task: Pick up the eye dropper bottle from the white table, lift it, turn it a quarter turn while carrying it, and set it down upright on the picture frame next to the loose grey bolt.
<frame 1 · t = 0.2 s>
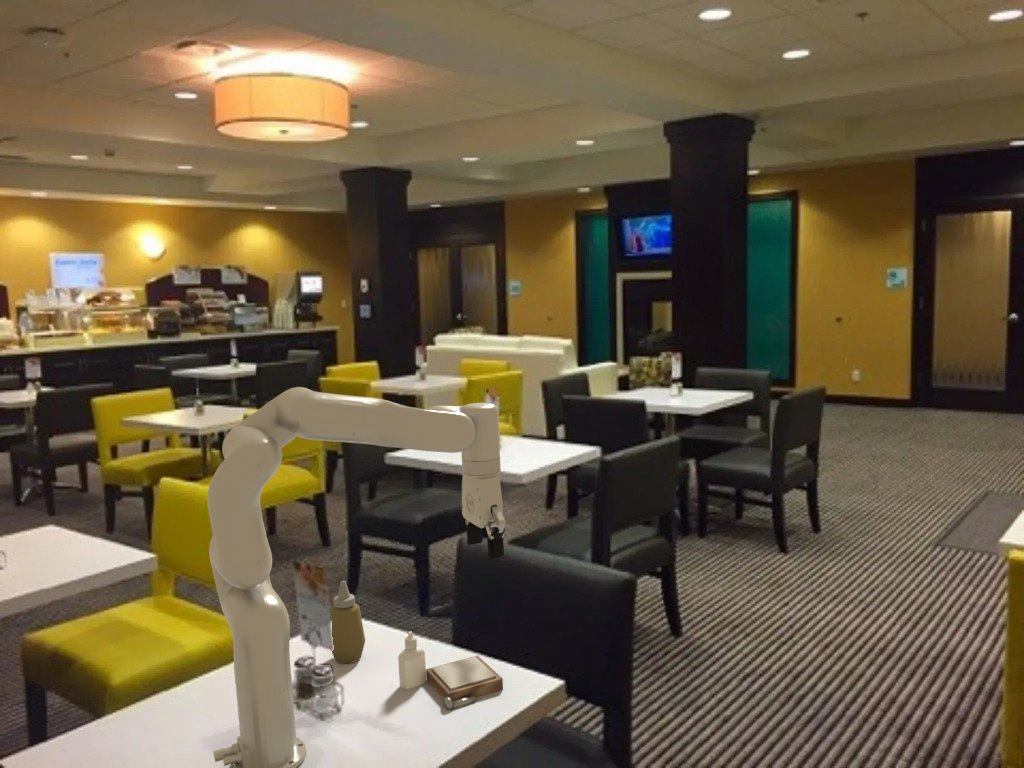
hand: (485, 550, 171), 31 cm above the table, tool pointing down, fingers open, 9 cm apart
eye dropper bottle: (413, 687, 180), on the table
squeeze bottle: (348, 658, 194), on the table
picture frame: (464, 687, 179), on the table
loose bolt: (464, 706, 170), point 1 cm above the table, tilted 60°, touching picture frame
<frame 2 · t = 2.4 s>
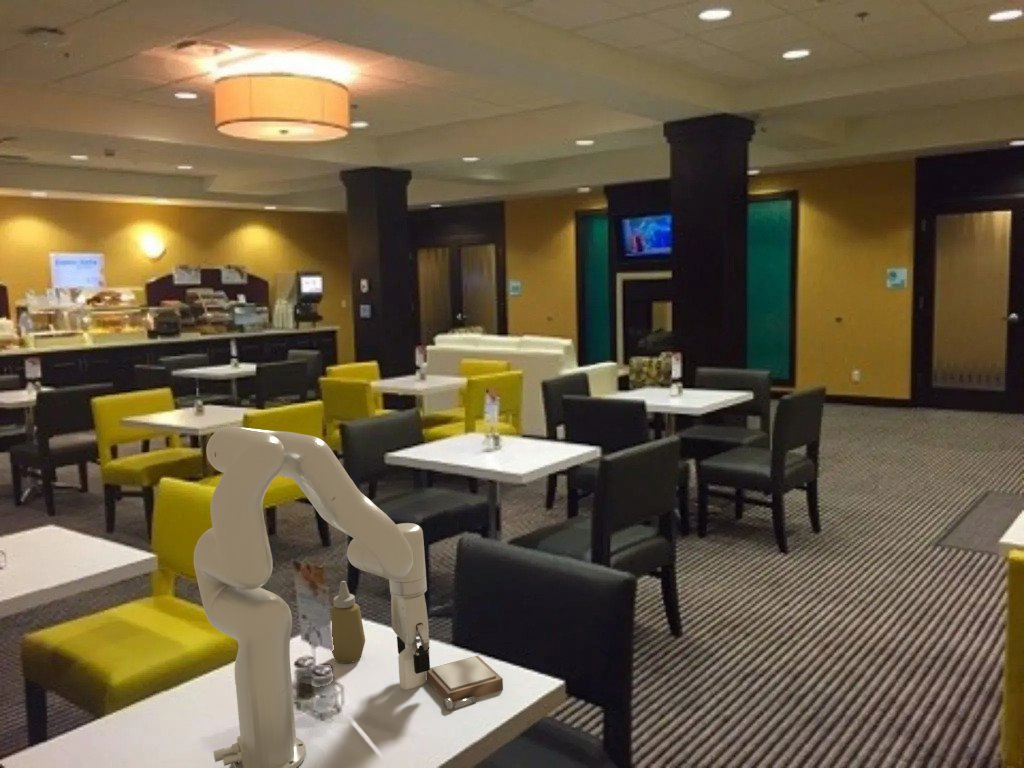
hand: (413, 661, 180), 5 cm above the table, tool pointing down, fingers open, 9 cm apart
loose bolt: (464, 707, 170), on the table, tilted 45°
everything else where it was.
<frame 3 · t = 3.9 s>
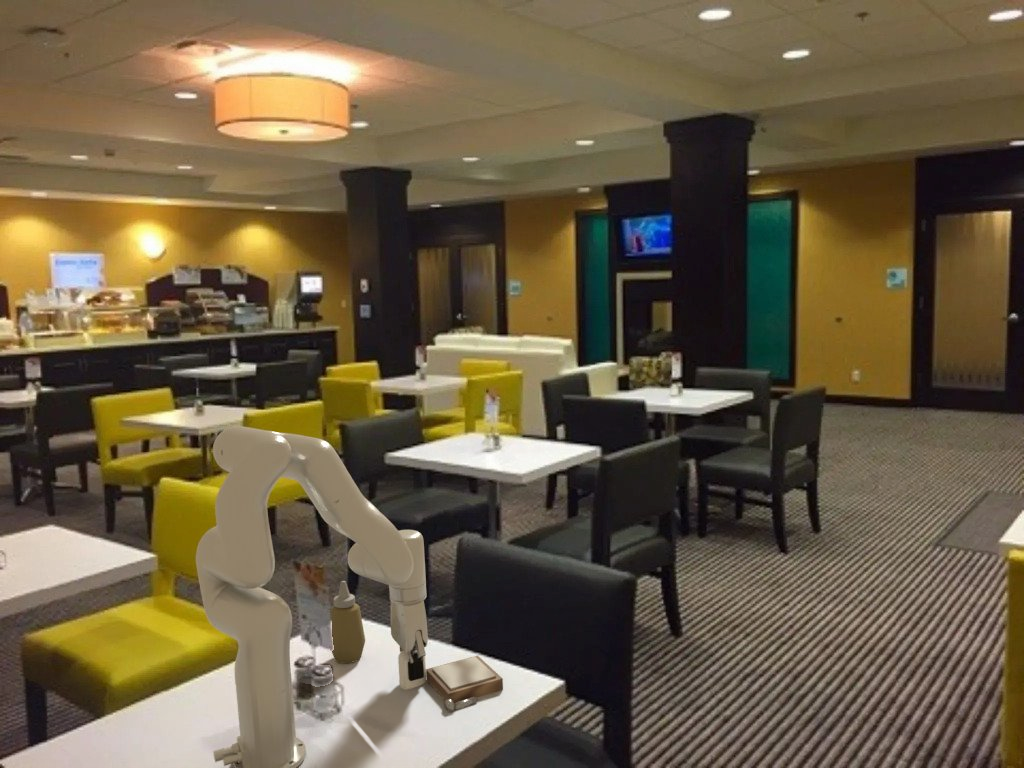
hand: (412, 673, 180), 3 cm above the table, tool pointing down, fingers closed on eye dropper bottle, 3 cm apart
eye dropper bottle: (413, 687, 180), on the table, touching gripper
loose bolt: (464, 708, 170), on the table, tilted 26°
everything else where it was.
when the fingers open (7 cm above the table, at t = 8.5 s): eye dropper bottle stays where it is, resting on picture frame.
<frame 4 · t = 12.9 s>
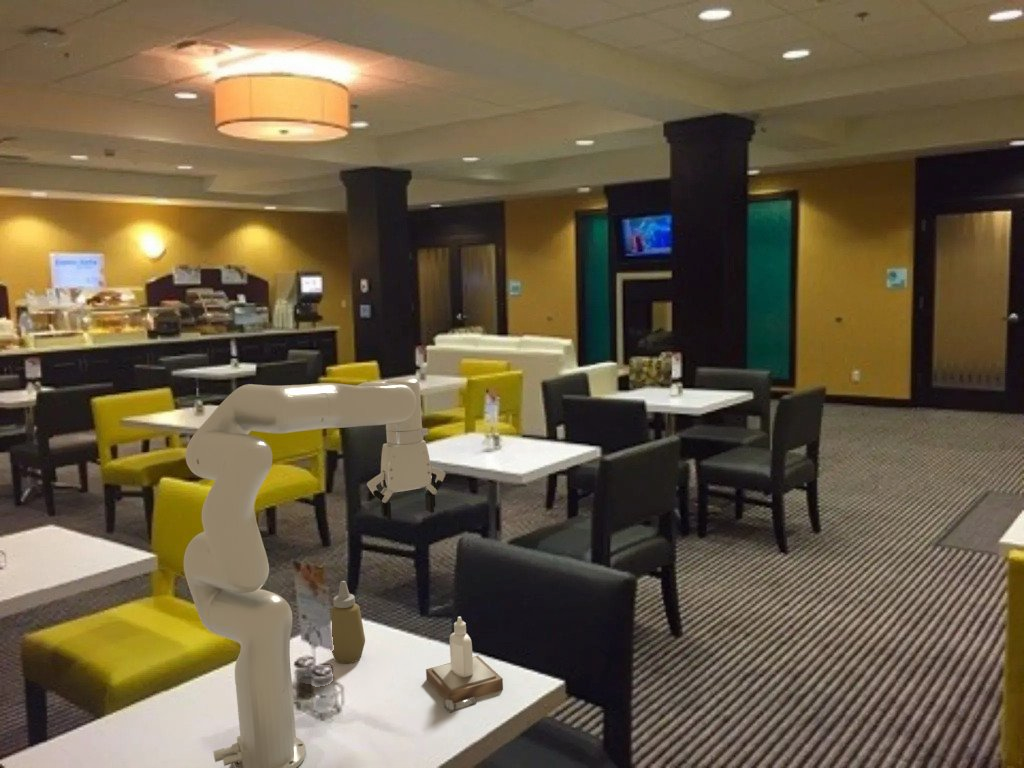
hand: (408, 515, 184), 34 cm above the table, tool pointing down, fingers open, 9 cm apart
eye dropper bottle: (462, 673, 178), point 3 cm above the table, touching picture frame
everything else where it was.
at the end: eye dropper bottle inside the target area on the picture frame (0.3 cm from its centre), point 3.2 cm above the picture frame's base; eye dropper bottle tilted 0°; the gripper is holding nothing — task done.
